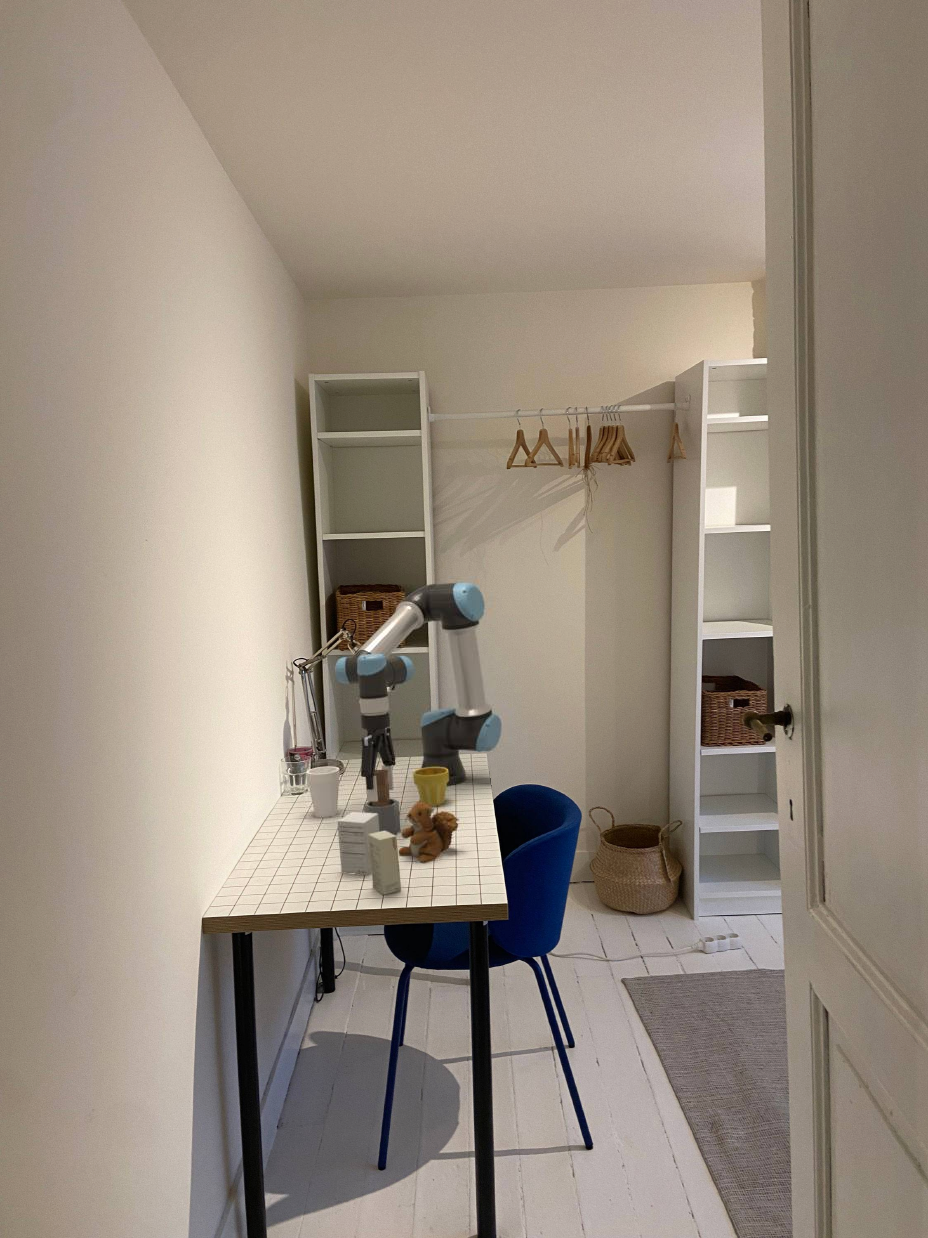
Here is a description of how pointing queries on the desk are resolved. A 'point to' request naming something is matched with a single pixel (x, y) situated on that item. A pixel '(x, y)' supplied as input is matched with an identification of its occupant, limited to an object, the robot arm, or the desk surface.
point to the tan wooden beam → (382, 788)
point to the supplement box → (356, 841)
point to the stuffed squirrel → (428, 832)
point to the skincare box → (384, 862)
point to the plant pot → (431, 784)
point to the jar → (386, 816)
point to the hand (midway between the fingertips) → (380, 795)
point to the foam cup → (324, 790)
